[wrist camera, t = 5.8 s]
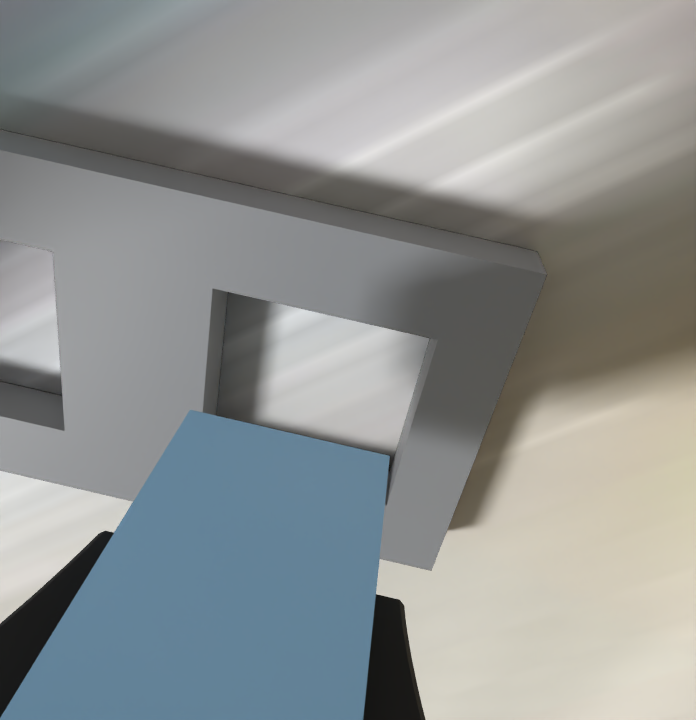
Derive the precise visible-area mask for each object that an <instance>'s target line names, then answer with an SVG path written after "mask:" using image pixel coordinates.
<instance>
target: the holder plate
mask: <svg viewBox="0 0 696 720" xmlns="http://www.w3.org/2000/svg"><path fill="white" fill-rule="evenodd" d="M0 240H3V241H8V242H12V243H17V244H21V245H25V246H30V247H34V248H38V249H43V250H47V251H51V252H53V265H54V280H55V294H56V309H57V324H58V339H59V354H60V368H61V383H62V396H60V395H56V394H52V393H47V392H43V391H39V390H34V389H30V388H26V387H21V386H17V385H13V384H8V383H4V382H0V471H4V472H8V473H13V474H17V475H21V476H26V477H30V478H34V479H39V480H43V481H47V482H51V483H56V484H60V485H64V486H69V487H73V488H77V489H82V490H86V491H90V492H94V493H99V494H103V495H107V496H112V497H116V498H120V499H125V500H129V501H134V500H135V498H136V497H137V495H138V493H139V492H140V490H141V488H142V487H143V485H144V484H145V482H146V480H147V479H148V477H149V475H150V474H151V472H152V471H153V469H154V467H155V466H156V464H157V462H158V461H159V459H160V458H161V456H162V454H163V453H164V451H165V449H166V448H167V446H168V445H169V443H170V441H171V440H172V438H173V436H174V435H175V433H176V432H177V430H178V428H179V427H180V425H181V423H182V422H183V420H184V419H185V417H186V415H187V414H188V412H189V410H194V411H198V412H203V413H207V414H211V415H216V412H217V402H218V391H219V381H220V370H221V360H222V350H223V339H224V329H225V318H226V308H227V297H228V292H231V293H235V294H239V295H244V296H248V297H252V298H257V299H261V300H266V301H270V302H274V303H279V304H283V305H287V306H292V307H296V308H301V309H305V310H309V311H314V312H318V313H322V314H327V315H331V316H336V317H340V318H344V319H349V320H353V321H357V322H362V323H366V324H370V325H375V326H379V327H384V328H388V329H392V330H397V331H401V332H405V333H410V334H414V335H419V336H423V337H427V338H430V340H429V343H428V347H427V350H426V353H425V357H424V360H423V363H422V367H421V370H420V373H419V377H418V380H417V383H416V387H415V390H414V393H413V397H412V400H411V403H410V407H409V410H408V413H407V417H406V420H405V423H404V427H403V430H402V433H401V437H400V440H399V443H398V447H397V450H396V453H395V457H394V460H393V463H392V467H391V470H390V472H389V471H388V478H387V488H386V498H385V508H384V518H383V528H382V538H381V548H380V558H379V559H383V560H387V561H391V562H396V563H400V564H404V565H408V566H413V567H417V568H421V569H426V570H430V571H431V570H432V568H433V565H434V563H435V560H436V557H437V555H438V552H439V550H440V547H441V545H442V542H443V540H444V537H445V534H446V532H447V529H448V527H449V524H450V522H451V519H452V517H453V514H454V511H455V509H456V506H457V504H458V501H459V499H460V496H461V494H462V491H463V488H464V486H465V483H466V481H467V478H468V476H469V473H470V471H471V468H472V465H473V463H474V460H475V458H476V455H477V453H478V450H479V448H480V445H481V442H482V440H483V437H484V435H485V432H486V430H487V427H488V425H489V422H490V419H491V417H492V414H493V412H494V409H495V407H496V404H497V402H498V399H499V396H500V394H501V391H502V389H503V386H504V384H505V381H506V379H507V376H508V373H509V371H510V368H511V366H512V363H513V361H514V358H515V356H516V353H517V350H518V348H519V345H520V343H521V340H522V338H523V335H524V333H525V330H526V327H527V325H528V322H529V320H530V317H531V315H532V312H533V310H534V307H535V304H536V302H537V299H538V297H539V294H540V292H541V289H542V287H543V284H544V281H545V279H546V276H547V273H546V270H545V268H544V266H543V264H542V261H541V259H540V257H539V254H538V252H537V251H533V250H529V249H524V248H520V247H515V246H511V245H507V244H502V243H498V242H493V241H489V240H485V239H480V238H476V237H471V236H467V235H463V234H458V233H454V232H449V231H445V230H441V229H436V228H432V227H427V226H423V225H418V224H414V223H410V222H405V221H401V220H396V219H392V218H388V217H383V216H379V215H374V214H370V213H366V212H361V211H357V210H352V209H348V208H344V207H339V206H335V205H330V204H326V203H322V202H317V201H313V200H308V199H304V198H300V197H295V196H291V195H286V194H282V193H278V192H273V191H269V190H264V189H260V188H256V187H251V186H247V185H242V184H238V183H234V182H229V181H225V180H220V179H216V178H212V177H207V176H203V175H198V174H194V173H190V172H185V171H181V170H176V169H172V168H168V167H163V166H159V165H154V164H150V163H145V162H141V161H137V160H132V159H128V158H123V157H119V156H115V155H110V154H106V153H101V152H97V151H93V150H88V149H84V148H79V147H75V146H71V145H66V144H62V143H57V142H53V141H49V140H44V139H40V138H35V137H31V136H27V135H22V134H18V133H13V132H9V131H5V130H0Z"/></svg>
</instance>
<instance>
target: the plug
mask: <svg viewBox="0 0 696 720" xmlns="http://www.w3.org/2000/svg"><path fill="white" fill-rule="evenodd" d="M389 459H390V456H388V455H384V454H379V453H375V452H371V451H367V450H362V449H358V448H354V447H349V446H345V445H341V444H336V443H332V442H328V441H323V440H319V439H315V438H310V437H306V436H302V435H298V434H293V433H289V432H285V431H280V430H276V429H272V428H267V427H263V426H259V425H254V424H250V423H246V422H242V421H237V420H233V419H229V418H224V417H220V416H216V415H211V414H207V413H203V412H198V411H194V410H189V412H188V414H187V415H186V417H185V419H184V420H183V422H182V423H181V425H180V427H179V428H178V430H177V432H176V433H175V435H174V436H173V438H172V440H171V441H170V443H169V445H168V446H167V448H166V449H165V451H164V453H163V454H162V456H161V458H160V459H159V461H158V462H157V464H156V466H155V467H154V469H153V471H152V472H151V474H150V475H149V477H148V479H147V480H146V482H145V484H144V485H143V487H142V488H141V490H140V492H139V493H138V495H137V497H136V498H135V500H134V501H133V503H132V505H131V506H130V508H129V510H128V511H127V513H126V514H125V516H124V518H123V519H122V521H121V523H120V524H119V526H118V527H117V529H116V531H115V532H114V534H113V536H112V537H111V539H110V540H109V542H108V544H107V545H106V547H105V549H104V550H103V552H102V553H101V555H100V557H99V558H98V560H97V562H96V563H95V565H94V566H93V568H92V570H91V571H90V573H89V575H88V576H87V578H86V579H85V581H84V583H83V584H82V586H81V588H80V589H79V591H78V592H77V594H76V596H75V597H74V599H73V601H72V602H71V604H70V605H69V607H68V609H67V610H66V612H65V614H64V615H63V617H62V618H61V620H60V622H59V623H58V625H57V627H56V628H55V630H54V631H53V633H52V635H51V636H50V638H49V640H48V641H47V643H46V644H45V646H44V648H43V649H42V651H41V653H40V654H39V656H38V657H37V659H36V661H35V662H34V664H33V665H32V667H31V669H30V670H29V672H28V674H27V675H26V677H25V678H24V680H23V682H22V683H21V685H20V687H19V688H18V690H17V691H16V693H15V695H14V696H13V698H12V700H11V701H10V703H9V704H8V706H7V708H6V709H5V711H4V713H3V714H2V716H1V717H0V720H363V716H364V706H365V696H366V686H367V676H368V666H369V657H370V647H371V637H372V627H373V617H374V607H375V597H376V587H377V577H378V567H379V558H380V548H381V538H382V528H383V518H384V508H385V498H386V488H387V478H388V469H389Z"/></svg>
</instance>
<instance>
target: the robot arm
mask: <svg viewBox="0 0 696 720" xmlns="http://www.w3.org/2000/svg"><path fill="white" fill-rule="evenodd" d="M113 534H114V533H112V532H108V531H104V532H101V533H99V534H98V535H97V536H96V537H95V538H94V539H93V540H92V541H91V542H90V543H89V544H88V545H87V546H86V547H85V548H84V549H83V550H82V551H81V552H80V553H79V554H77V555H76V556H75V557H74V558H73V559H72V560H71V561H70V562H69V563H68V564H67V565H66V566H65V567H64V568H63V569H62V570H60V571H59V572H58V573H57V574H56V575H55V576H54V577H53V578H52V579H51V580H50V581H48V582H47V583H46V584H45V585H44V586H43V587H42V588H41V589H40V590H39V591H37V592H36V593H35V594H34V595H33V596H32V597H31V598H30V599H28V600H27V601H26V602H25V603H24V604H23V605H21V606H20V607H19V608H18V609H17V610H16V611H14V612H13V613H12V614H11V615H10V616H9V617H7V618H6V619H5V620H4V621H3V622H2V623H1V624H0V717H1V716H2V714H3V713H4V711H5V709H6V708H7V706H8V704H9V703H10V701H11V700H12V698H13V696H14V695H15V693H16V691H17V690H18V688H19V687H20V685H21V683H22V682H23V680H24V678H25V677H26V675H27V674H28V672H29V670H30V669H31V667H32V665H33V664H34V662H35V661H36V659H37V657H38V656H39V654H40V653H41V651H42V649H43V648H44V646H45V644H46V643H47V641H48V640H49V638H50V636H51V635H52V633H53V631H54V630H55V628H56V627H57V625H58V623H59V622H60V620H61V618H62V617H63V615H64V614H65V612H66V610H67V609H68V607H69V605H70V604H71V602H72V601H73V599H74V597H75V596H76V594H77V592H78V591H79V589H80V588H81V586H82V584H83V583H84V581H85V579H86V578H87V576H88V575H89V573H90V571H91V570H92V568H93V566H94V565H95V563H96V562H97V560H98V558H99V557H100V555H101V553H102V552H103V550H104V549H105V547H106V545H107V544H108V542H109V540H110V539H111V537H112V536H113ZM363 720H425V716H424V712H423V708H422V704H421V700H420V696H419V691H418V687H417V682H416V677H415V672H414V668H413V663H412V658H411V652H410V647H409V640H408V634H407V627H406V620H405V610H404V605H403V604H402V602H401V601H400V600H398V599H394V598H389V597H385V596H381V595H377V594H376V597H375V607H374V617H373V627H372V637H371V647H370V657H369V666H368V676H367V686H366V696H365V706H364V716H363Z"/></svg>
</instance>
